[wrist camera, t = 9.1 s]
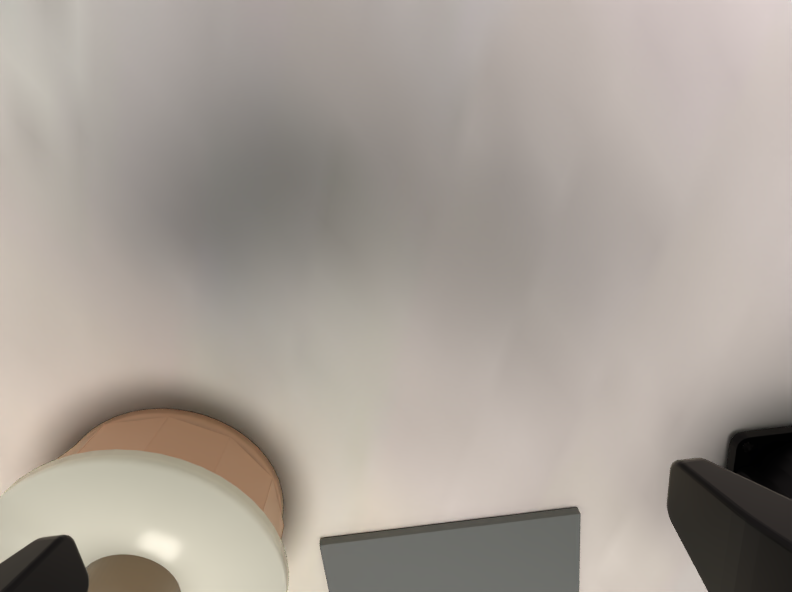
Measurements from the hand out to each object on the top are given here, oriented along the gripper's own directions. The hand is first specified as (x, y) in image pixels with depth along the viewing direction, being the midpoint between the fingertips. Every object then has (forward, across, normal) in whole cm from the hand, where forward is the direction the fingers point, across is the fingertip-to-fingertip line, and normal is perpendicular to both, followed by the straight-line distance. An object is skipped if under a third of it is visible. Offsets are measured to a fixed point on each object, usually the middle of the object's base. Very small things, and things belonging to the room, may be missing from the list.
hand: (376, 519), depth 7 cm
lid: (+8, +10, +9) cm, 16 cm away
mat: (+12, -2, +18) cm, 22 cm away
